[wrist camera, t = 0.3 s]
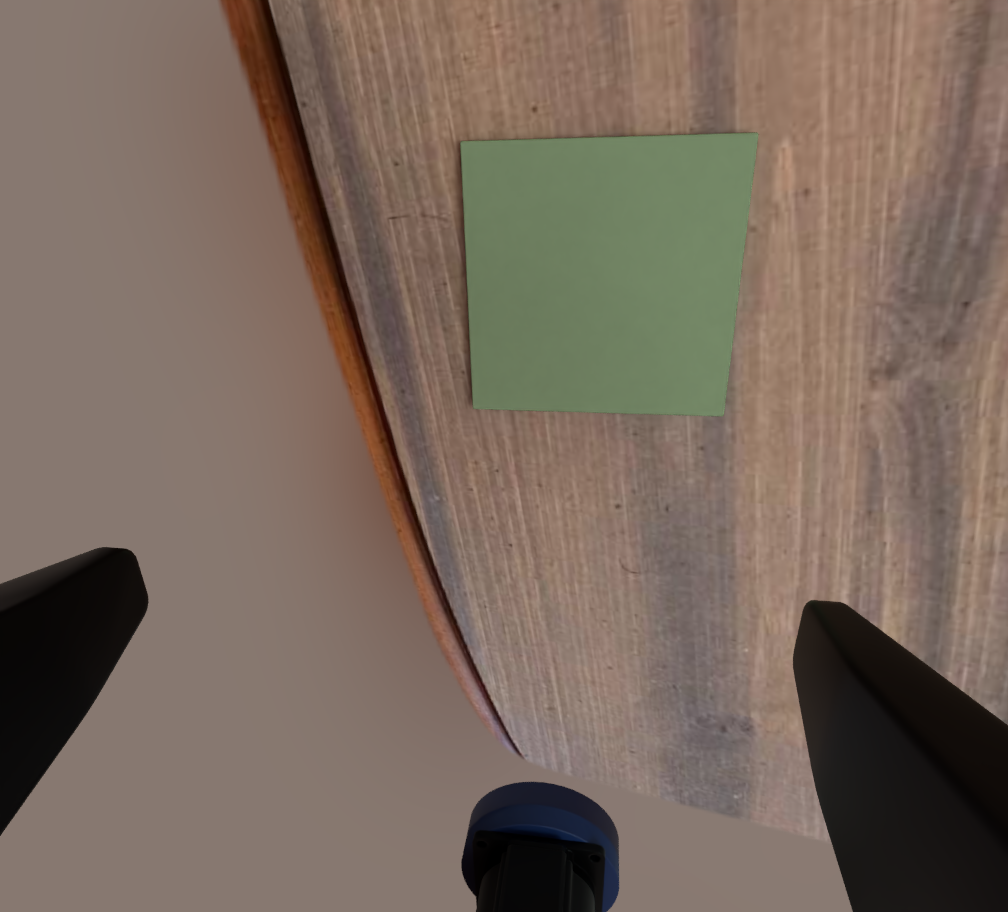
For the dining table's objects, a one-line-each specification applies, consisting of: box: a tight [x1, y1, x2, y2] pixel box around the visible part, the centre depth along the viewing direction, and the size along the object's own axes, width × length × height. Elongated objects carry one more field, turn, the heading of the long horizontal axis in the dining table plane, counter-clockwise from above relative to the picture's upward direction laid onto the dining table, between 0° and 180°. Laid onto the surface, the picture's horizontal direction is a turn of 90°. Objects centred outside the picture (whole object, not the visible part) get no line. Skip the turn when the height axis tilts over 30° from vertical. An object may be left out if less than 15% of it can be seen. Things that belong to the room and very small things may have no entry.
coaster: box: [460, 133, 758, 416], centre depth 20 cm, size 8×8×1 cm
